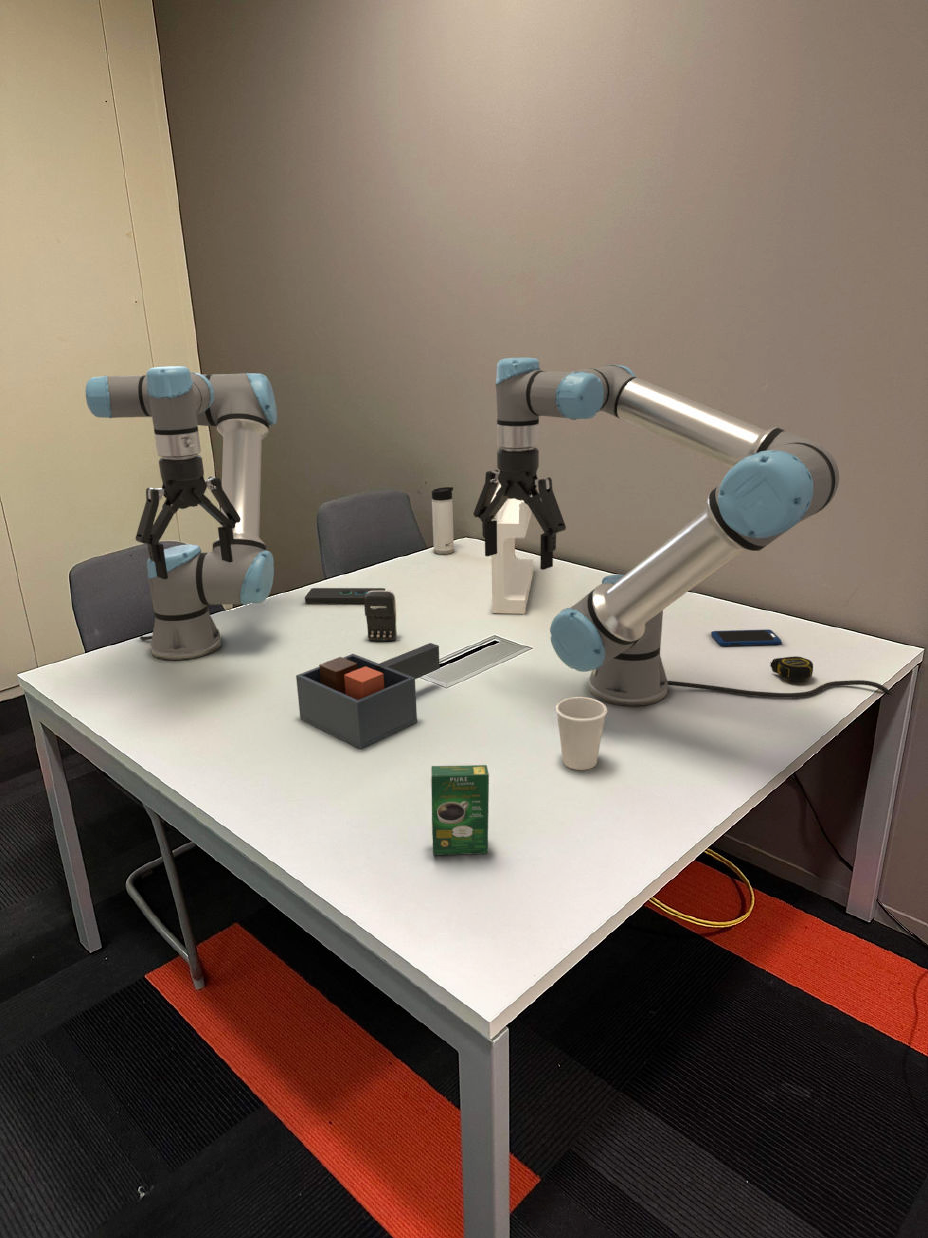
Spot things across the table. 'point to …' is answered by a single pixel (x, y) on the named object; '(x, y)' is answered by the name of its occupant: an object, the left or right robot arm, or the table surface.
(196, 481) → the left robot arm
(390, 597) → the battery charger
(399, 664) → the tote
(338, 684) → the walnut block
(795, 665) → the tape measure
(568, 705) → the dixie cup
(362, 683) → the terracotta block
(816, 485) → the right robot arm
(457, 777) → the coffee box
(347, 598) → the smart home device
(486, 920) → the table surface
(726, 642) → the cell phone
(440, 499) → the travel mug
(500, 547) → the white stand
